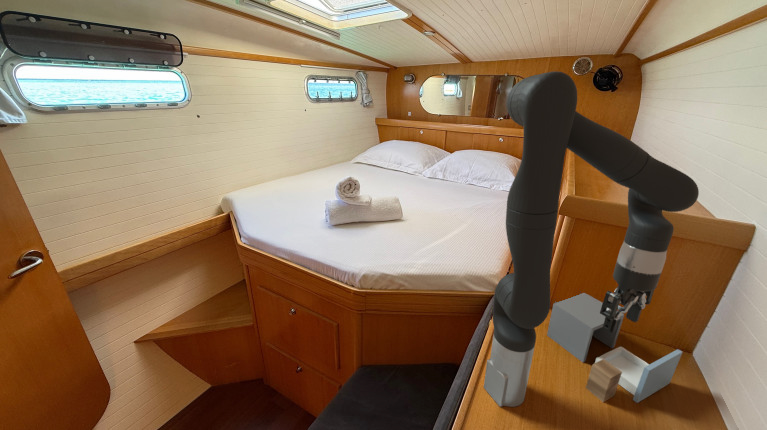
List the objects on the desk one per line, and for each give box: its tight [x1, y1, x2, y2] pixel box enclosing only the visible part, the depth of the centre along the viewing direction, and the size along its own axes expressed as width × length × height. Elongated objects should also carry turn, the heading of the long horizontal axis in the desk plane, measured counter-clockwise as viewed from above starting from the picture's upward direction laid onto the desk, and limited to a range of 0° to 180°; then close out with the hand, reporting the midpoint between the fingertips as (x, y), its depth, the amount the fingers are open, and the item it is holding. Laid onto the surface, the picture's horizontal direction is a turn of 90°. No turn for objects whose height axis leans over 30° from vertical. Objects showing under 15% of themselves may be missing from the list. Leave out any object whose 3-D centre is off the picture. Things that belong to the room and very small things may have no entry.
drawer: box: [594, 345, 683, 404], centre depth 79 cm, size 14×12×11 cm
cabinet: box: [546, 292, 625, 363], centre depth 91 cm, size 14×12×12 cm
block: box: [585, 359, 622, 403], centre depth 76 cm, size 4×4×8 cm
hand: (620, 324), depth 70 cm, fingers open, 8 cm apart
